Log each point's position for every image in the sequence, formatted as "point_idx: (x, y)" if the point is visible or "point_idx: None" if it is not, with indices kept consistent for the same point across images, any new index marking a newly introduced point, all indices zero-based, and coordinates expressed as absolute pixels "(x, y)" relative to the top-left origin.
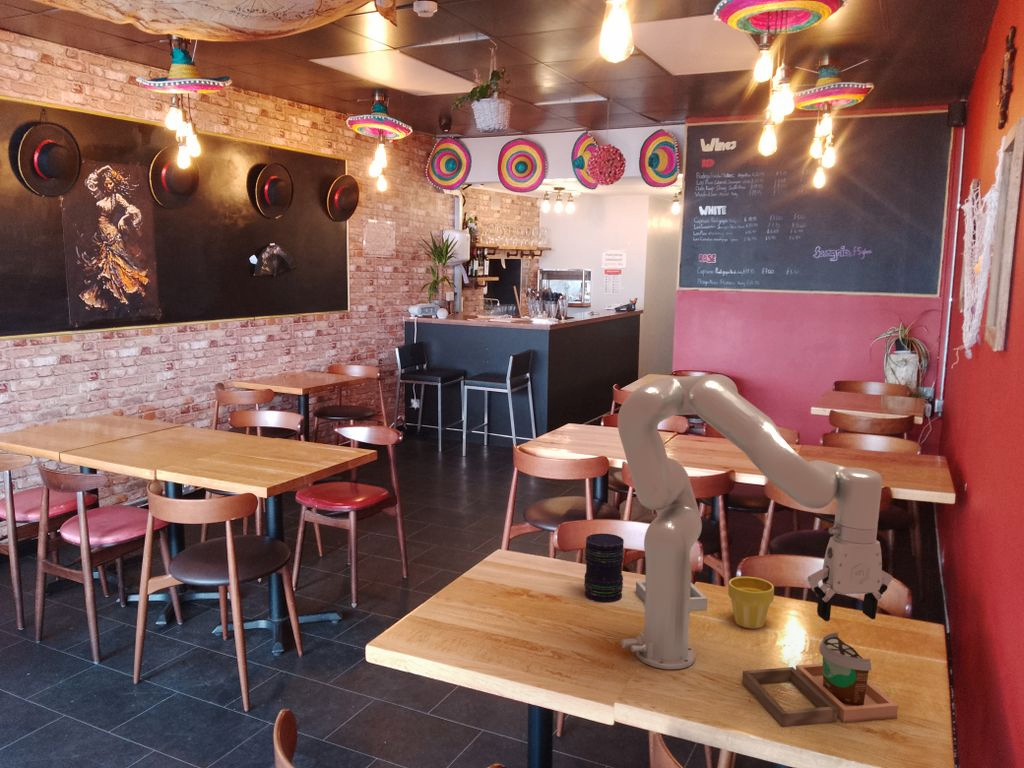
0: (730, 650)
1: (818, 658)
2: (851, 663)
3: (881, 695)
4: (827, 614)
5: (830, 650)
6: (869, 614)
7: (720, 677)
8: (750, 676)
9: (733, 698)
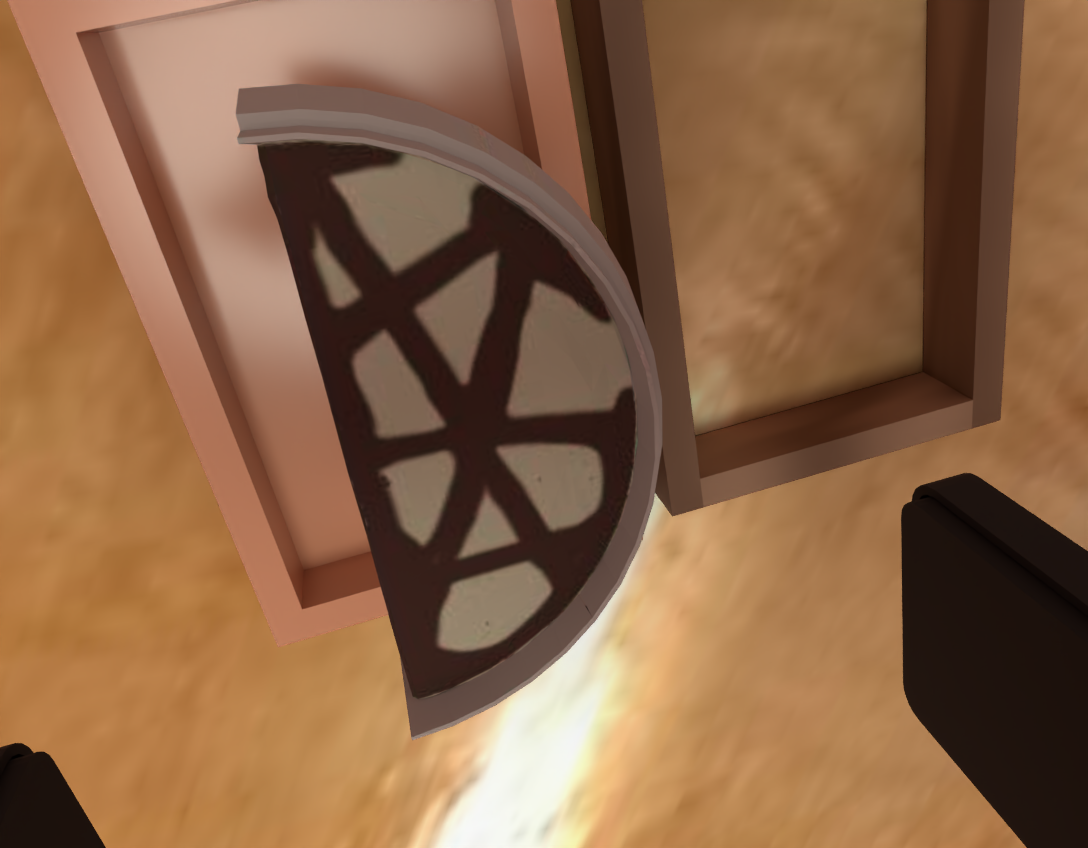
0: (855, 713)
1: (393, 733)
2: (471, 136)
3: (121, 165)
4: (1053, 536)
5: (640, 352)
6: (55, 846)
7: (1033, 431)
8: (987, 357)
9: (1077, 203)
